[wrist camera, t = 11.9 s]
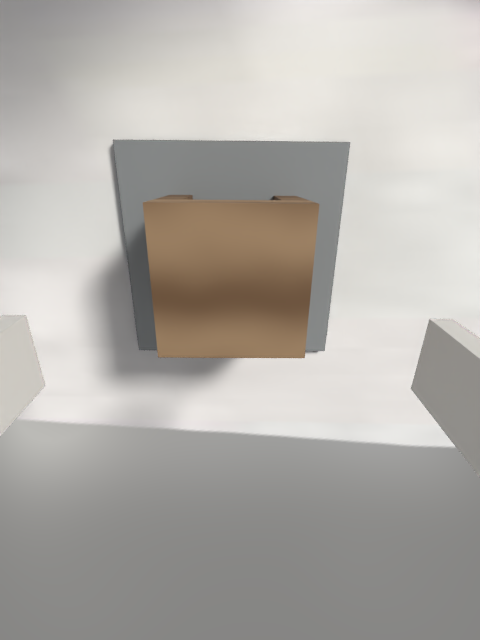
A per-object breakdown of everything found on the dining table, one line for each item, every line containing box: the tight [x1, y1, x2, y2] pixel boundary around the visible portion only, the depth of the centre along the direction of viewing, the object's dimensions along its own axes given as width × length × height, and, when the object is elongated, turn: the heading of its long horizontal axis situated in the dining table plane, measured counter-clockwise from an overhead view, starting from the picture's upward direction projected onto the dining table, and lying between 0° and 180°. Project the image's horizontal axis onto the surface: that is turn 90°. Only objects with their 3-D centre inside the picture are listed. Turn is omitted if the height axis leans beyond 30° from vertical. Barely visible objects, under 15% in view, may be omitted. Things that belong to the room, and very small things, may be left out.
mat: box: [113, 140, 350, 351], centre depth 26 cm, size 16×16×1 cm
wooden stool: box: [143, 195, 319, 358], centre depth 22 cm, size 9×9×8 cm
